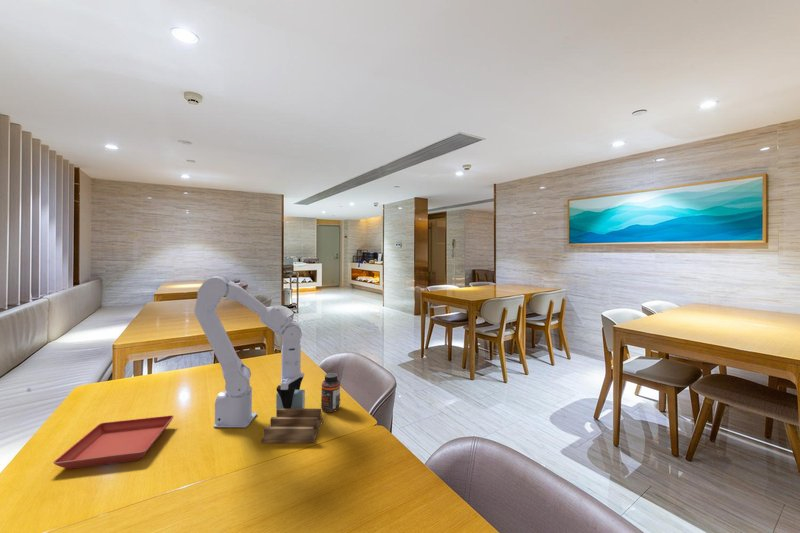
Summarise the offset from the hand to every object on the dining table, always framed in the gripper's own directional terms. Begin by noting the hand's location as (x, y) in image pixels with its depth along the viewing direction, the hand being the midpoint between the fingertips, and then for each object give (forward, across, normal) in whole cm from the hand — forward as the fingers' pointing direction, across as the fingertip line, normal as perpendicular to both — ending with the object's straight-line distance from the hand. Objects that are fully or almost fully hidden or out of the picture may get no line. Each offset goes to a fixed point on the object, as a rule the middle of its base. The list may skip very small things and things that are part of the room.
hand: (291, 402), depth 104 cm
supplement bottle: (+4, +3, -12) cm, 13 cm away
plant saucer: (+4, -18, +38) cm, 42 cm away
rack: (+3, -10, -4) cm, 12 cm away
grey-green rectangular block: (+3, 0, 0) cm, 3 cm away
